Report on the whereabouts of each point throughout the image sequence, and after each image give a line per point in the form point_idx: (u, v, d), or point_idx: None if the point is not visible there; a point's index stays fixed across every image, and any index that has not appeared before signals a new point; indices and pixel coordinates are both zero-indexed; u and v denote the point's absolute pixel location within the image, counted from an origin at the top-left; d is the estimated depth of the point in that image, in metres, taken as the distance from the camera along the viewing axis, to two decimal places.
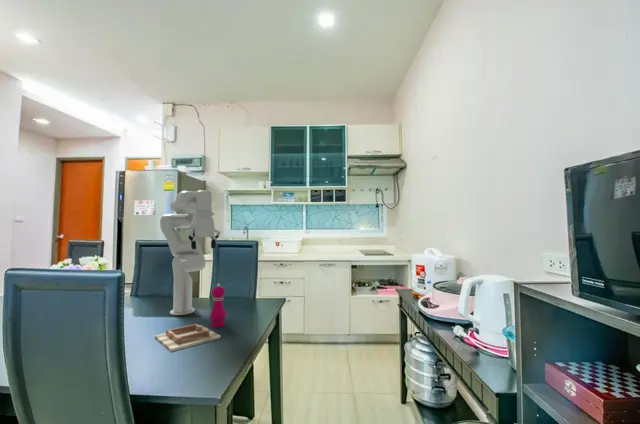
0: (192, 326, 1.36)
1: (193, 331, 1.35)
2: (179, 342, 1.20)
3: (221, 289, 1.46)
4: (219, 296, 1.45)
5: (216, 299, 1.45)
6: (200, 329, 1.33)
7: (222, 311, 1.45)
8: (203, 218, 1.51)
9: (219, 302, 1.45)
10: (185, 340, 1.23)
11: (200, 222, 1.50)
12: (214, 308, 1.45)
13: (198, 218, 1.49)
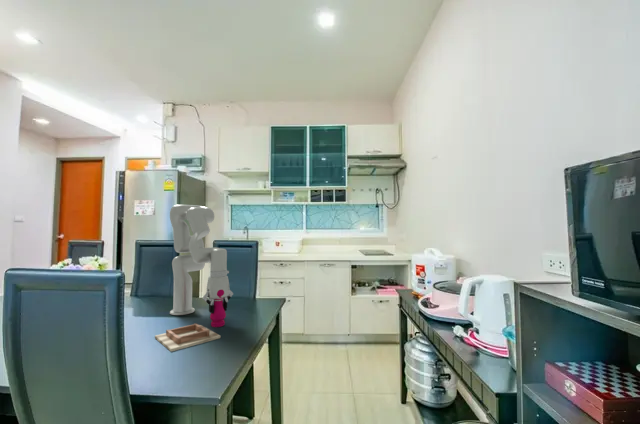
0: (192, 326, 1.36)
1: (193, 331, 1.35)
2: (179, 342, 1.20)
3: None
4: (219, 296, 1.45)
5: (216, 299, 1.45)
6: (200, 329, 1.33)
7: (222, 311, 1.45)
8: (218, 279, 1.45)
9: (219, 302, 1.45)
10: (185, 340, 1.23)
11: (214, 283, 1.44)
12: (214, 308, 1.45)
13: (213, 279, 1.43)
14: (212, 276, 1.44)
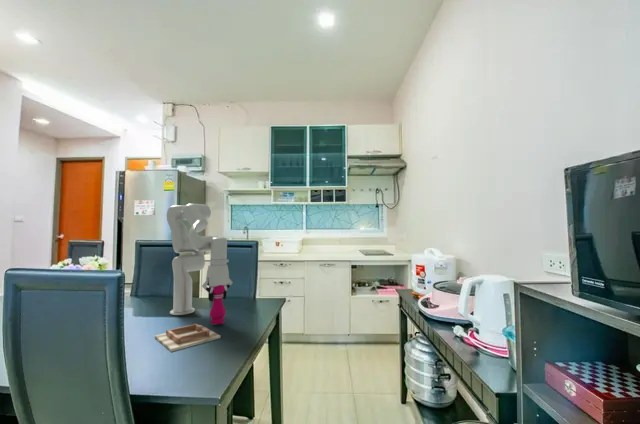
0: (192, 326, 1.36)
1: (193, 331, 1.35)
2: (179, 342, 1.20)
3: (220, 286, 1.46)
4: (219, 293, 1.45)
5: (216, 296, 1.45)
6: (200, 329, 1.33)
7: (222, 308, 1.45)
8: (218, 267, 1.45)
9: (219, 299, 1.45)
10: (185, 340, 1.23)
11: (214, 271, 1.44)
12: (214, 305, 1.45)
13: (213, 267, 1.44)
14: (212, 264, 1.45)
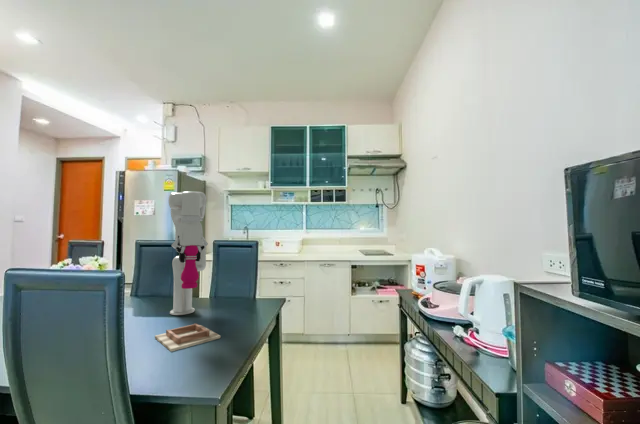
0: (192, 326, 1.36)
1: (193, 331, 1.35)
2: (179, 342, 1.20)
3: (193, 246, 1.30)
4: (191, 254, 1.29)
5: (188, 257, 1.29)
6: (200, 329, 1.33)
7: (194, 271, 1.29)
8: (190, 224, 1.30)
9: (191, 261, 1.29)
10: (185, 340, 1.23)
11: (185, 229, 1.29)
12: (185, 268, 1.29)
13: (184, 224, 1.28)
14: (183, 221, 1.29)
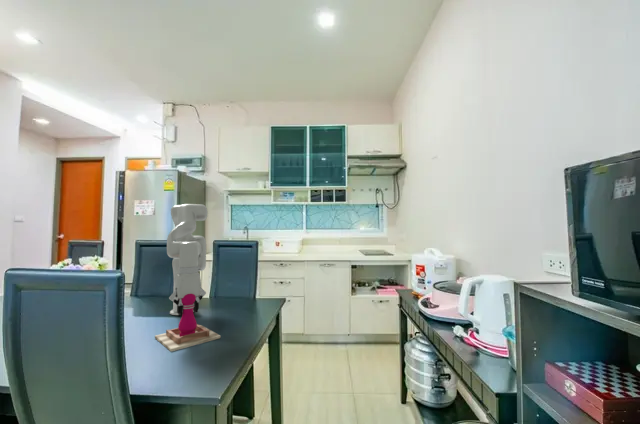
0: None
1: None
2: (179, 342, 1.20)
3: (191, 295, 1.28)
4: (189, 303, 1.27)
5: (185, 307, 1.27)
6: (200, 329, 1.33)
7: (192, 320, 1.27)
8: (187, 276, 1.28)
9: (189, 310, 1.27)
10: (185, 340, 1.23)
11: (183, 281, 1.27)
12: (183, 317, 1.27)
13: (181, 276, 1.27)
14: (181, 273, 1.28)
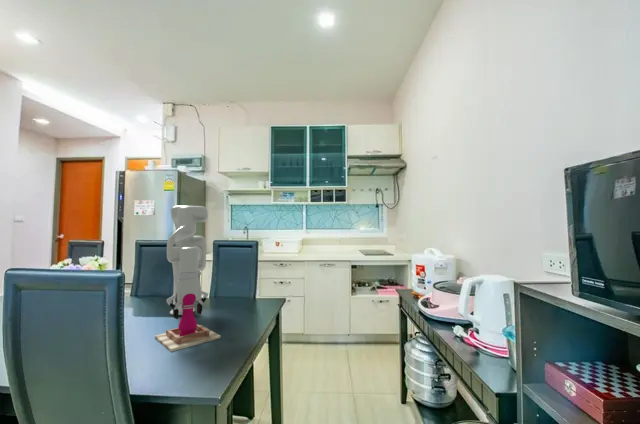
0: None
1: None
2: (179, 342, 1.20)
3: (191, 295, 1.28)
4: (189, 303, 1.27)
5: (185, 307, 1.27)
6: (200, 329, 1.33)
7: (192, 320, 1.27)
8: (187, 281, 1.28)
9: (189, 310, 1.27)
10: (185, 340, 1.23)
11: (183, 286, 1.27)
12: (183, 317, 1.27)
13: (181, 282, 1.27)
14: (181, 278, 1.27)
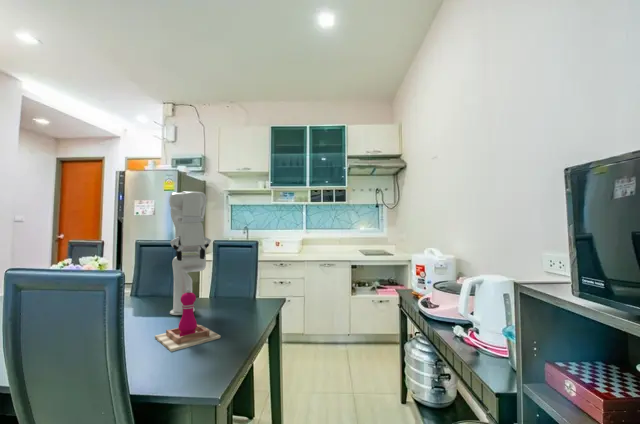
0: None
1: None
2: (179, 342, 1.20)
3: (191, 295, 1.28)
4: (189, 303, 1.27)
5: (185, 307, 1.27)
6: (200, 329, 1.33)
7: (192, 320, 1.28)
8: (190, 225, 1.30)
9: (189, 310, 1.27)
10: (185, 340, 1.23)
11: (186, 229, 1.29)
12: (183, 317, 1.27)
13: (185, 225, 1.29)
14: (184, 221, 1.30)
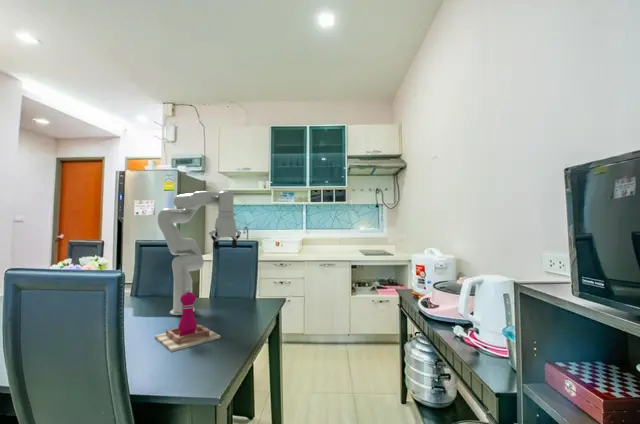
0: None
1: None
2: (179, 342, 1.20)
3: (191, 295, 1.28)
4: (189, 303, 1.27)
5: (185, 307, 1.27)
6: (200, 329, 1.33)
7: (192, 320, 1.28)
8: (225, 219, 1.54)
9: (189, 310, 1.27)
10: (185, 340, 1.23)
11: (222, 222, 1.53)
12: (183, 317, 1.27)
13: (221, 219, 1.53)
14: (220, 216, 1.53)
